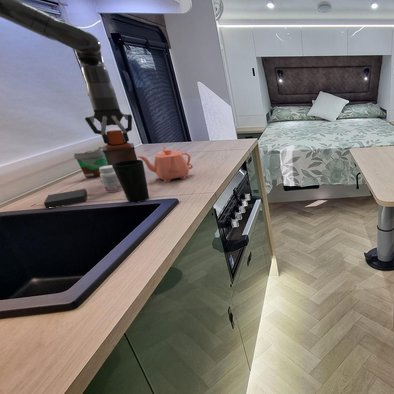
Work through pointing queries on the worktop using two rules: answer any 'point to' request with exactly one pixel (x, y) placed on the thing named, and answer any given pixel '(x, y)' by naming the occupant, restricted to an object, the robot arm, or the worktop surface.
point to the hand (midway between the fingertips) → (117, 143)
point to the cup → (132, 179)
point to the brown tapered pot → (119, 154)
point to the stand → (66, 198)
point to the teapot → (169, 164)
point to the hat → (116, 140)
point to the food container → (91, 162)
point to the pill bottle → (109, 179)
